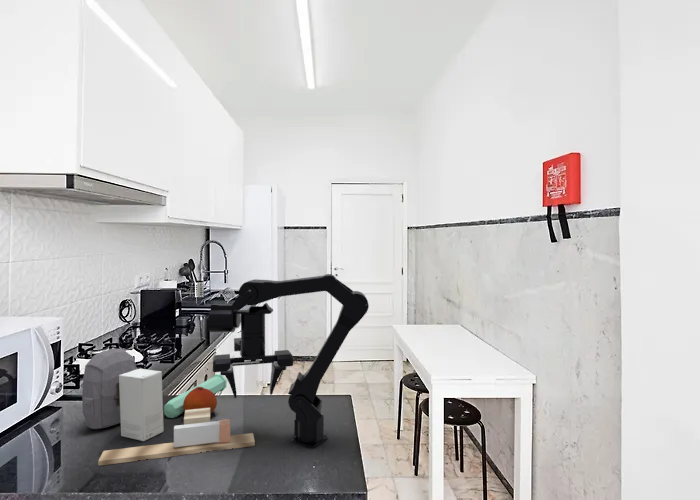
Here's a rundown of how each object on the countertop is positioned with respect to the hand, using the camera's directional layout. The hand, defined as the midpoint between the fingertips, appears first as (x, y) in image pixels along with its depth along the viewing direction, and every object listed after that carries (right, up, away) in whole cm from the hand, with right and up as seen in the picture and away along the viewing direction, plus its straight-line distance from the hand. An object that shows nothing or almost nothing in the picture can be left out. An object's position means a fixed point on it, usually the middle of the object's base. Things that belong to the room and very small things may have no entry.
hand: (253, 395), depth 107 cm
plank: (-16, -11, -5) cm, 20 cm away
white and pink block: (-11, -10, -4) cm, 15 cm away
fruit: (-18, -11, +16) cm, 26 cm away
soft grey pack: (-39, -11, +9) cm, 42 cm away
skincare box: (-29, -11, +3) cm, 31 cm away
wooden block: (-14, -11, +2) cm, 18 cm away
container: (-23, -11, +25) cm, 36 cm away
